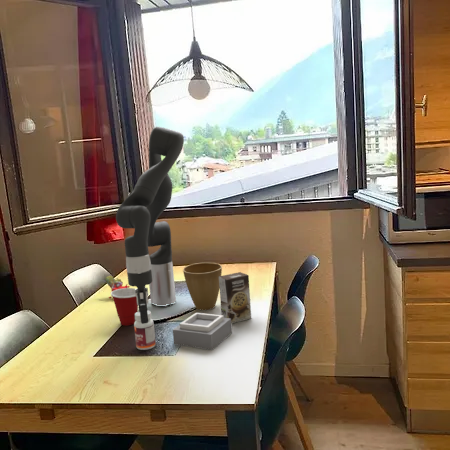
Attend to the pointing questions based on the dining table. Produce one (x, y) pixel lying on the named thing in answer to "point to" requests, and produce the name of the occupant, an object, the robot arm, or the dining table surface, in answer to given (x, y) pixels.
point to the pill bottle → (144, 332)
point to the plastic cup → (125, 305)
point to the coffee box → (235, 296)
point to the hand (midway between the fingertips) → (144, 318)
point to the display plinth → (202, 331)
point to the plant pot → (203, 284)
